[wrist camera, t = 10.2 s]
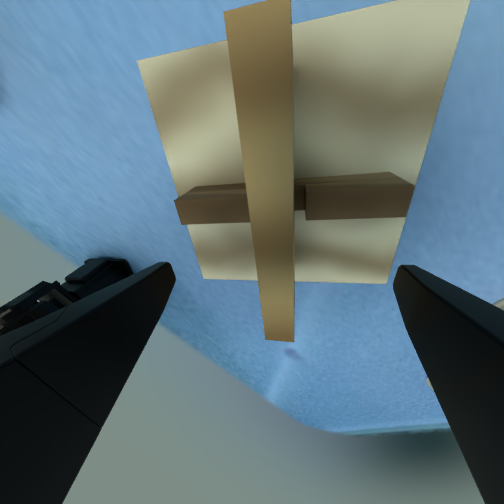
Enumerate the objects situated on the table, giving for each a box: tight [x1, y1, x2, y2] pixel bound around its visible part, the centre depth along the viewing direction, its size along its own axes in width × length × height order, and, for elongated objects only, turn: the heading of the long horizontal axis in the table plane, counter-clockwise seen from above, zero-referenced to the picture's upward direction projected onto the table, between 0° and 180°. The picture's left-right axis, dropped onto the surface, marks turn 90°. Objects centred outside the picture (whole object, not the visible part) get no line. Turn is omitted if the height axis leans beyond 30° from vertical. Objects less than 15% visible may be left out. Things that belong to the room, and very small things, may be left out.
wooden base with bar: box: [137, 0, 470, 284], centre depth 16 cm, size 20×20×5 cm
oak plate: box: [224, 0, 295, 342], centre depth 14 cm, size 16×2×9 cm, turn 7°
